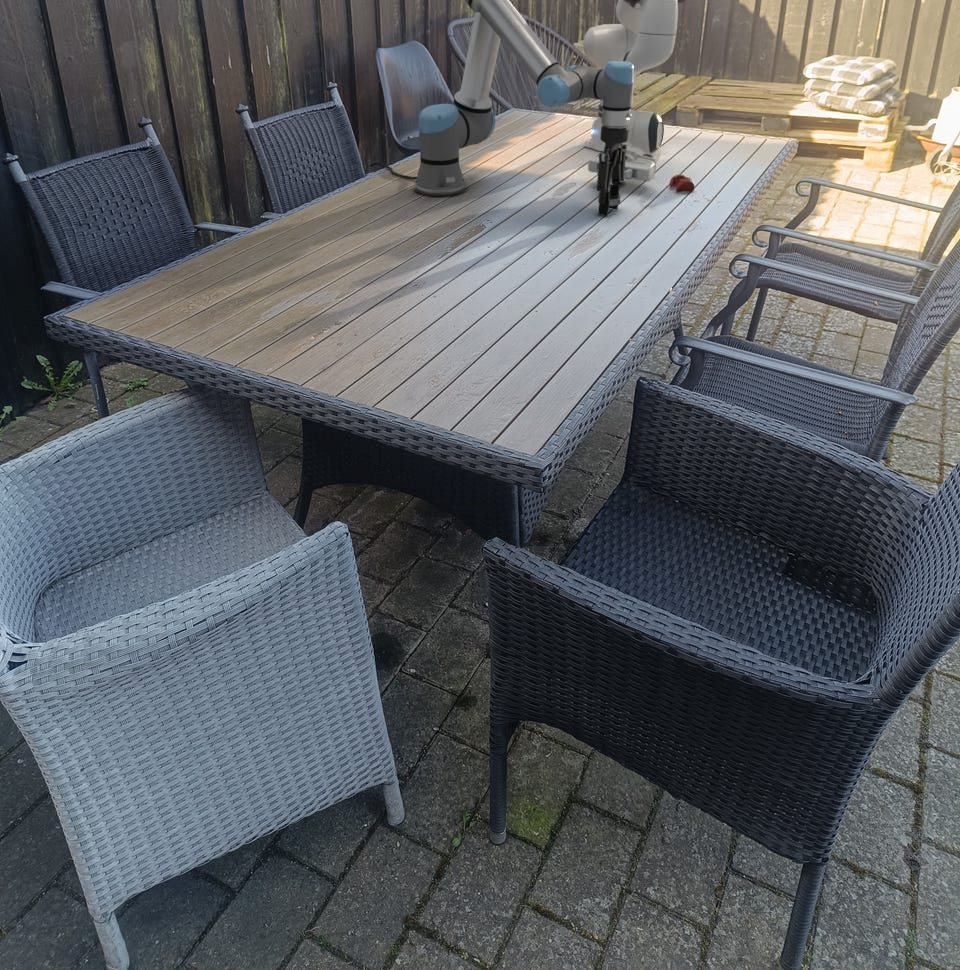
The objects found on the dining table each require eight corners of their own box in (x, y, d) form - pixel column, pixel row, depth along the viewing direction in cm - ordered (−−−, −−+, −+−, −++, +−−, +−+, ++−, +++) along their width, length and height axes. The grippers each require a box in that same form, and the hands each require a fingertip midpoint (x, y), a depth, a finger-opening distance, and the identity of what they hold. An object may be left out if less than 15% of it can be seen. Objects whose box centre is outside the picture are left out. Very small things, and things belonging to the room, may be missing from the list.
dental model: (685, 170, 259) (697, 178, 253) (684, 184, 262) (695, 192, 256) (668, 172, 258) (679, 180, 252) (667, 186, 261) (678, 194, 255)
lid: (600, 198, 242) (600, 192, 241) (621, 200, 241) (622, 194, 240) (596, 205, 237) (597, 198, 236) (618, 206, 236) (618, 200, 235)
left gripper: (613, 134, 219) (606, 222, 232) (641, 120, 232) (633, 204, 245) (587, 131, 222) (581, 218, 236) (616, 117, 235) (609, 200, 249)
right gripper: (600, 148, 263) (579, 158, 253) (661, 157, 254) (642, 168, 244) (598, 169, 267) (578, 179, 257) (658, 179, 257) (639, 190, 248)
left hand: (608, 211), depth 240 cm, fingers closed on lid, 6 cm apart
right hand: (609, 174), depth 251 cm, fingers closed on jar, 5 cm apart
